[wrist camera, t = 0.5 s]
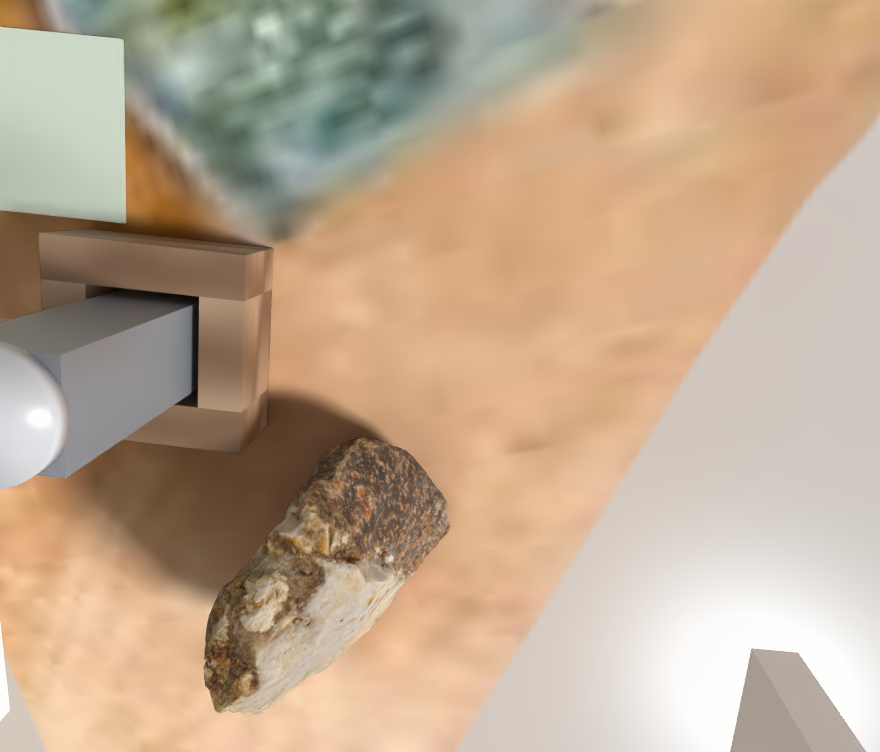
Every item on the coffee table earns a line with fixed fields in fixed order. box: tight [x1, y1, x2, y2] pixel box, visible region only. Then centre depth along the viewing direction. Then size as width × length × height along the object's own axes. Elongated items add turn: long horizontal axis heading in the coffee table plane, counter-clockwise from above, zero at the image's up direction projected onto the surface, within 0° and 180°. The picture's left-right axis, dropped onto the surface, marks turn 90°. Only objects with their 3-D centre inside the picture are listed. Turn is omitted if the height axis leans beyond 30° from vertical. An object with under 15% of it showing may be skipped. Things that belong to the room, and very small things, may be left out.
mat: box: [0, 27, 126, 223], centre depth 36 cm, size 9×9×1 cm
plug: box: [0, 289, 199, 489], centre depth 31 cm, size 5×5×16 cm
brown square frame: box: [38, 229, 273, 454], centre depth 36 cm, size 10×10×4 cm
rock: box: [204, 437, 450, 714], centre depth 36 cm, size 15×8×15 cm
